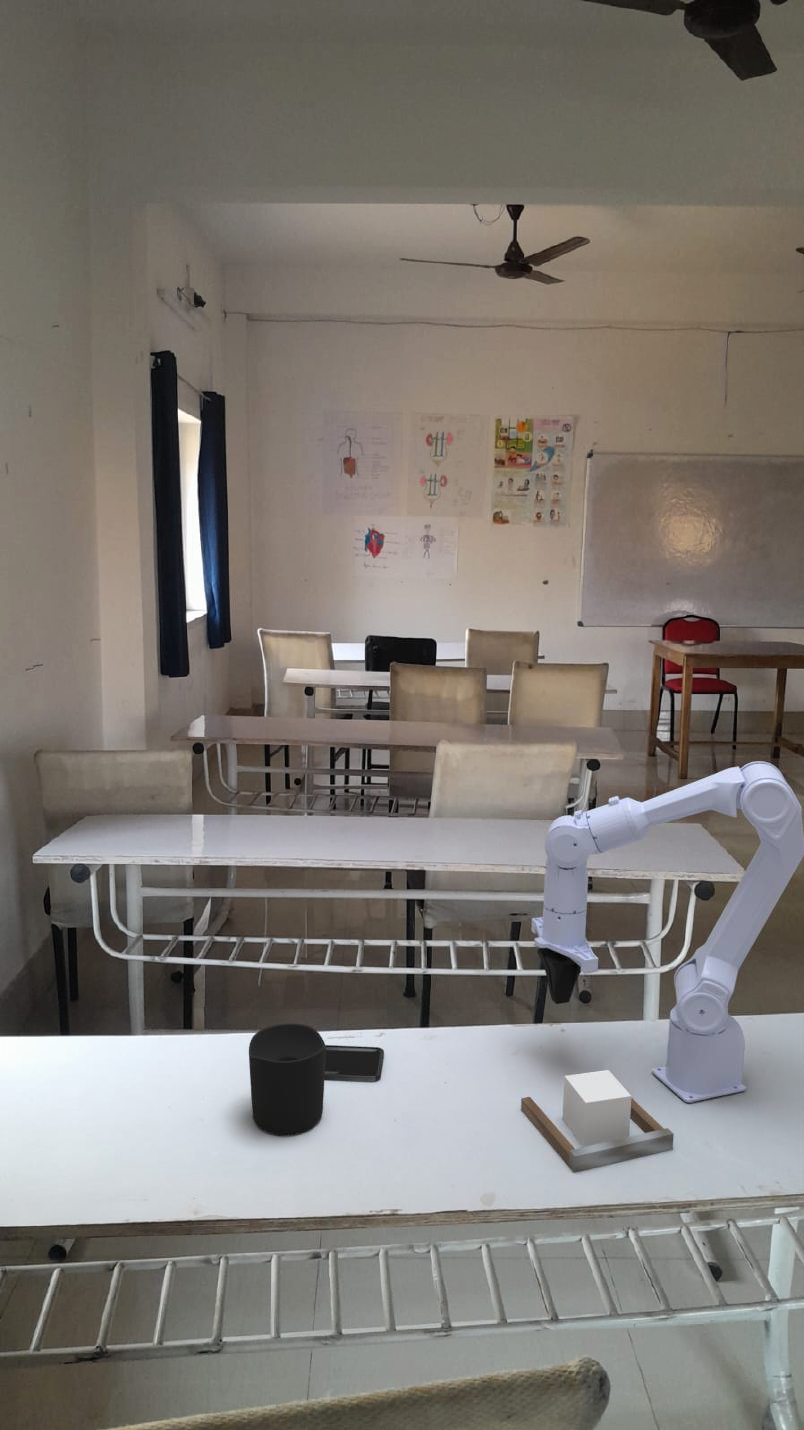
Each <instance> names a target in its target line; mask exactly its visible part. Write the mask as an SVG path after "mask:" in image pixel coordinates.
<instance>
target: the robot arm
mask: <svg viewBox="0 0 804 1430" xmlns="http://www.w3.org/2000/svg"><path fill="white" fill-rule="evenodd" d="M737 809H740V810H741V812H742V814H743V816H744V817H745V818H746V819H747V820H748V822H749V823H750V824H751V825H752V827H754V828H755V830H756V833H757V835H758V837H759V841H760V844H759V846H758V848H757V849H756V852H755V854H754V855H753V857H752V858H751V861H750V862H749V864H748V866H747V868H746V870H745V871H744V873H743V875H742V877H741V879H740V880H739V882H738V884H737V886H736V887H735V890H734V891H733V893H732V895H731V896H730V898H729V900H728V902H727V904H726V905H725V907H724V909H723V911H722V913H721V914H720V916H719V918H718V919H717V921H716V924H715V925H714V926H713V928H712V929H711V932H710V934H709V935H708V938H706V942H705V943H704V944H703V945H701V946H700V947H698V948H696V950H695V952H694V953H693V955H692V957H691V958H690V959H688V960H687V961H685V962H683V963H682V964H681V965H680V966H678V968H677V969H676V971H675V972H674V975H673V976H674V977H673V984H674V985H673V986H674V989H675V995H676V1004H675V1006H674V1007H673V1008H672V1009H671V1010H670V1012H669V1021H668V1023H669V1025H668V1039H667V1052H666V1053H667V1055H666V1064H665V1065H666V1066H665V1065H664V1066H660V1067H656V1068H652V1071H651V1073H652V1074H653V1076H655V1077H656V1078H657V1079H659V1080H660V1081H661V1082H662V1083H663V1084H664V1085H665V1086H667V1087H668V1088H669V1089H670V1090H671V1091H673V1093H675V1094H676V1095H677V1096H678V1097H679V1098H680V1099H682V1100H683V1101H684V1102H685V1103H687V1104H689V1103H694V1102H699V1101H703V1100H708V1099H711V1098H713V1099H714V1098H717V1097H720V1096H721V1097H722V1096H726V1095H727V1096H728V1095H731V1094H735V1093H740V1092H744V1091H746V1088H747V1087H746V1086H745V1084H743V1073H744V1072H743V1071H744V1060H745V1049H746V1048H745V1047H746V1046H745V1045H746V1042H745V1041H746V1040H745V1034H744V1032H743V1029H742V1026H741V1025H740V1023H739V1022H738V1021H737V1019H736V1018H734V1017H733V1016H732V1015H730V1014H729V1012H728V1011H729V1010H728V1009H729V1008H728V1007H729V1006H728V1005H729V1002H730V999H731V997H732V995H733V994H734V991H735V987H736V983H737V976H738V972H739V970H740V968H741V966H742V964H743V963H744V961H745V959H746V957H747V956H748V954H749V952H750V950H751V949H752V947H753V945H754V944H755V942H756V940H757V938H758V936H759V934H760V933H761V931H762V929H763V928H764V926H765V924H766V922H767V920H768V919H769V917H770V916H771V914H772V911H773V910H774V908H775V907H776V905H777V903H778V902H779V900H780V898H781V896H782V894H783V893H784V891H785V889H786V888H787V886H788V884H789V882H790V880H791V878H792V877H793V875H794V873H795V871H796V870H797V868H798V867H799V865H800V862H801V861H802V859H803V858H804V828H803V827H804V826H803V817H802V814H803V808H802V806H801V803H800V801H799V800H798V798H797V796H796V794H795V793H794V791H793V789H792V787H791V786H790V785H789V783H787V781H786V779H785V777H784V775H783V773H782V772H781V771H780V769H779V768H777V767H776V766H775V765H774V764H772V763H770V762H767V761H762V760H761V761H760V760H759V761H751V762H749V763H747V764H745V765H743V766H742V767H741V768H740V766H734V767H729V768H726V769H724V770H720V771H719V772H717V773H713V774H711V775H709V776H706V777H704V778H701V779H698V780H696V781H694V782H693V781H692V782H691V783H689V784H685V785H683V786H681V787H678V788H675V789H673V790H669V791H668V792H665V793H662V794H660V795H657V796H655V797H653V798H650V799H648V800H644V801H642V802H641V801H637V800H635V799H633V798H631V797H625V798H621V799H620V798H619V796H618V795H617V796H612V797H610V798H609V799H608V804H607V803H606V804H605V805H602V806H599V807H595V808H592V809H590V810H587V811H583V810H582V809H579V810H576V811H574V813H573V816H572V815H571V814H570V815H563V816H560V817H558V818H556V819H555V820H553V822H552V823H551V824H550V825H549V828H548V831H547V833H546V837H545V839H544V840H545V841H544V850H545V854H546V858H545V867H546V870H545V872H544V881H543V882H544V883H543V884H544V886H543V906H542V907H543V908H542V909H543V910H542V916H541V917H534V918H531V932H532V933H533V934H535V935H538V937H535V938H534V945H536V946H537V947H538V949H537V955H538V957H539V959H540V961H541V964H542V965H543V969H544V971H545V975H546V979H547V984H548V985H547V986H548V990H549V994H550V998H551V1001H552V1002H554V1004H556V1005H559V1004H565V1003H566V1004H567V1003H570V1000H571V997H572V995H573V992H574V988H575V985H576V983H577V980H578V978H579V976H580V975H581V973H582V974H584V975H586V974H592V973H597V972H598V970H599V957H597V955H595V953H594V952H593V949H592V948H591V945H590V943H589V941H588V939H587V937H586V926H587V925H586V924H587V909H588V906H587V905H588V890H589V889H588V887H589V873H588V872H587V867H588V859H589V857H590V856H591V855H599V854H602V853H606V852H609V851H612V850H616V849H617V848H621V847H623V846H626V845H630V844H633V843H636V842H638V841H641V840H644V839H645V837H646V836H647V833H648V830H649V829H650V828H651V827H653V826H654V827H655V826H658V825H661V824H665V823H667V822H669V823H670V822H672V821H675V820H679V819H683V818H686V817H689V816H692V815H696V814H699V813H704V812H708V811H713V812H717V813H720V814H722V815H723V814H724V815H726V816H729V817H732V818H737V817H738V816H737Z"/></svg>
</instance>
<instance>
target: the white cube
mask: <svg viewBox="0 0 804 1430" xmlns="http://www.w3.org/2000/svg"><path fill="white" fill-rule="evenodd" d="M563 1081H564V1083H563V1101H562V1102H563V1103H562V1117H561V1118H562V1121H563V1122H564V1124H565V1125H566V1127H567V1128H568V1129H569V1131H570V1132H571V1133H572V1134H573V1137H575V1139H576V1140H577V1142H578V1143H579V1144H580V1145H581V1148H582V1147H586V1146H591V1145H595V1144H600V1143H604V1142H608V1141H613V1140H617V1139H622V1138H626V1137H630V1128H631V1127H630V1126H631V1118H630V1112H631V1098H632V1095H631V1094H630V1092H628V1090H627V1089H626V1088H625V1087H624V1086H623V1085H622V1084H621V1082H620V1081H619V1080H618V1078H616V1076H614V1074H613V1073H612V1072H611V1071H610V1069H606V1070H600V1071H599V1070H598V1071H592V1072H591V1071H590V1072H585V1073H578V1074H577V1073H576V1074H568V1075H564V1079H563Z"/></svg>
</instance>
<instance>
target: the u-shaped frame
mask: <svg viewBox="0 0 804 1430" xmlns="http://www.w3.org/2000/svg"><path fill="white" fill-rule="evenodd" d="M520 1103H521V1104H520V1110H521V1111H522V1112H523V1114H524V1115H525V1116H526V1118H528V1119H529V1121H530V1122H531V1123H532V1124H533V1126H534V1127H535V1128H536V1129H537V1130H538V1131H539V1133H540V1134H541V1135H542V1137H544V1139H545V1140H546V1141H547V1142H548V1143H549V1144H550V1146H551V1147H552V1148H553V1150H554V1151H555V1152H556V1153H557V1154H558V1156H559V1157H560V1158H561V1159H562V1160H563V1161H564V1162H565V1164H566V1165H567V1166H568V1167H569V1168H570V1170H571V1171H572V1172H573V1173H576V1172H577V1173H578V1172H581V1171H585V1170H590V1169H594V1168H598V1167H601V1166H607V1165H610V1164H611V1165H612V1164H615V1163H619V1162H623V1161H628V1160H633V1159H636V1158H640V1157H645V1156H648V1155H654V1154H658V1153H661V1152H665V1151H666V1152H667V1151H670V1150H673V1148H674V1147H673V1146H674V1137H675V1136H674V1135H675V1133H674V1132H672V1131H671V1130H670V1129H669V1127H667V1128H664V1127H663V1126H662V1125H661V1124H660V1123H659V1122H658V1121H657V1120H655V1118H654V1117H652V1116H651V1115H650V1114H649V1113H648V1112H647V1111H646V1110H645V1109H644V1108H643V1107H642V1106H641V1105H640V1104H639V1103H638V1102H636V1100H635V1099H634V1098H633V1097H631V1112H630V1120H632V1121H633V1122H634V1123H635V1124H636V1125H637V1126H638V1127H639V1128H640V1129H641V1130H642V1131H643V1133H640V1134H636V1135H632V1136H631V1135H629V1137H626V1138H622V1139H617V1140H613V1141H608V1142H604V1143H600V1144H595V1145H591V1146H586V1147H582V1146H581V1147H579V1148H578V1147H577V1148H576V1147H574V1146H573V1144H572V1143H571V1142H570V1141H569V1140H568V1139H567V1138H566V1136H564V1134H563V1133H562V1132H561V1130H560V1129H559V1128H558V1127H557V1126H556V1125H555V1123H553V1121H552V1120H551V1119H550V1118H549V1117H548V1115H546V1114H545V1112H544V1111H543V1110H542V1109H541V1108H540V1106H539V1105H538V1104H537V1103H536V1102H535V1101H534V1099H533V1098H532V1097H531V1096H527V1097H521V1099H520Z"/></svg>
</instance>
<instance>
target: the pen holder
mask: <svg viewBox="0 0 804 1430" xmlns="http://www.w3.org/2000/svg"><path fill="white" fill-rule="evenodd" d="M326 1045H327V1044H326V1043H325V1040H324V1039H323V1037H322V1036H321V1034H320V1033H319V1032H318V1031H317V1030H316V1029H315V1028H314V1027H311V1026H309V1025H306V1024H301V1023H281V1024H274V1025H270V1026H267V1027H264V1028H262V1029H261V1030H259V1031H257V1032H256V1033H255V1034H254V1035H253V1036H252V1037H251V1039H250V1042H249V1046H248V1061H249V1062H248V1064H249V1079H250V1095H251V1097H250V1098H251V1110H252V1118H253V1122H254V1123H255V1124H256V1126H257V1127H258V1128H259V1129H260V1130H262V1131H264V1132H266V1133H267V1134H270V1135H274V1136H283V1137H285V1136H287V1137H288V1136H294V1135H299V1134H303V1133H306V1132H308V1131H309V1130H310V1131H311V1129H313V1128H314V1127H315V1126H316V1125H317V1124H318V1123H319V1122H320V1120H321V1119H322V1117H323V1111H324V1098H325V1097H324V1096H325V1080H324V1078H325V1056H326Z"/></svg>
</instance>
